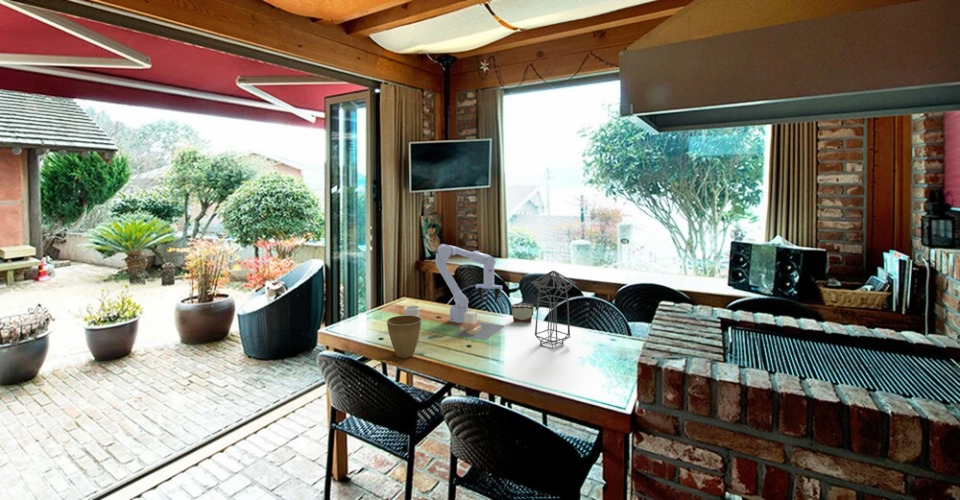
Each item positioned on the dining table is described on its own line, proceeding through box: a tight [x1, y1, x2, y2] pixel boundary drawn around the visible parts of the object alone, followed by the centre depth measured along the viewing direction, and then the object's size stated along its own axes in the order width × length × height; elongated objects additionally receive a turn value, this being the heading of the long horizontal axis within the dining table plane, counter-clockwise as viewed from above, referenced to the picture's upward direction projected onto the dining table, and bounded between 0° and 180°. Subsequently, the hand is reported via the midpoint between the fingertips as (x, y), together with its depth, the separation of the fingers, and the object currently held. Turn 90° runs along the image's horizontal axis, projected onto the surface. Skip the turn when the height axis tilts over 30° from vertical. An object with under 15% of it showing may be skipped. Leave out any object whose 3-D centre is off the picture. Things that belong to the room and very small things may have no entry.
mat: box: [452, 321, 505, 341], centre depth 225 cm, size 18×24×1 cm
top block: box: [464, 310, 478, 324], centre depth 221 cm, size 5×5×5 cm
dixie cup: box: [403, 305, 421, 317], centre depth 235 cm, size 8×8×10 cm
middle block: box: [462, 320, 480, 329], centre depth 222 cm, size 6×6×2 cm
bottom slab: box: [459, 325, 482, 335], centre depth 222 cm, size 8×8×2 cm
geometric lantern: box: [530, 270, 576, 350], centre depth 202 cm, size 16×16×35 cm
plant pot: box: [386, 315, 422, 359], centre depth 193 cm, size 15×15×16 cm
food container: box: [510, 302, 535, 324], centre depth 239 cm, size 12×6×10 cm, turn 84°
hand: (489, 301), depth 243 cm, fingers open, 7 cm apart
